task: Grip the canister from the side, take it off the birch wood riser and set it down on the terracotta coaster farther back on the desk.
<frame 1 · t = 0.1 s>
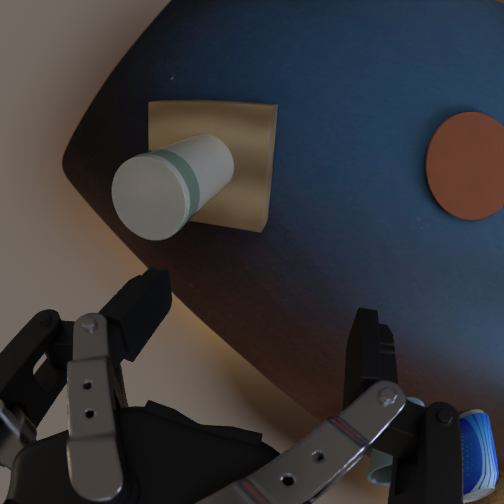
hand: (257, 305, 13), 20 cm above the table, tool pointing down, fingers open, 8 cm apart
canister: (203, 164, 29), point 3 cm above the table, touching riser
embossed ceramic tumbler: (401, 409, 42), on the table
coaster: (473, 166, 24), on the table
riser: (214, 158, 31), on the table
beer can: (466, 419, 40), on the table
bowl: (490, 470, 49), on the table
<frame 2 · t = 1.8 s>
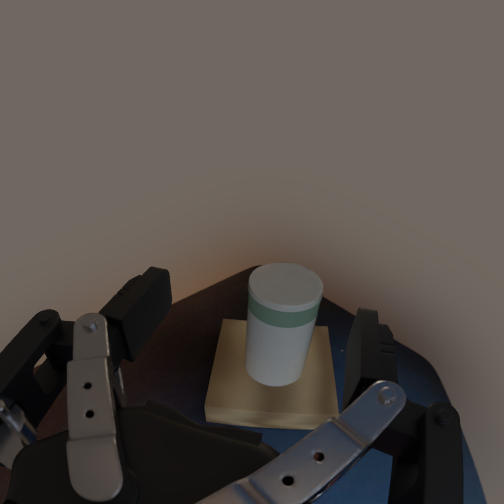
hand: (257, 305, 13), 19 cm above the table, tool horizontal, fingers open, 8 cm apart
canister: (274, 363, 30), point 3 cm above the table, touching riser
riser: (271, 380, 32), on the table
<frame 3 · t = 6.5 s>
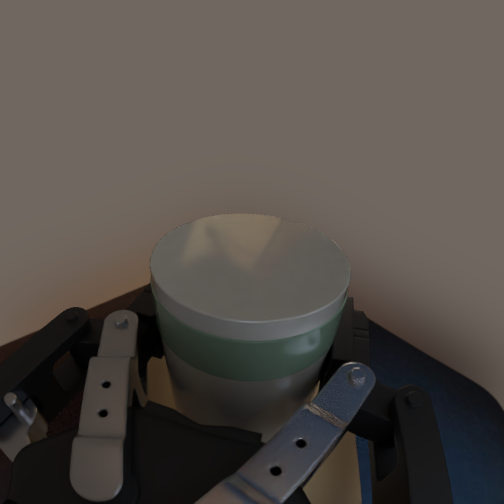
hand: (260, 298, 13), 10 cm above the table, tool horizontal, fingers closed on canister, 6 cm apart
canister: (240, 423, 14), point 3 cm above the table, touching gripper, riser
riser: (239, 446, 16), on the table
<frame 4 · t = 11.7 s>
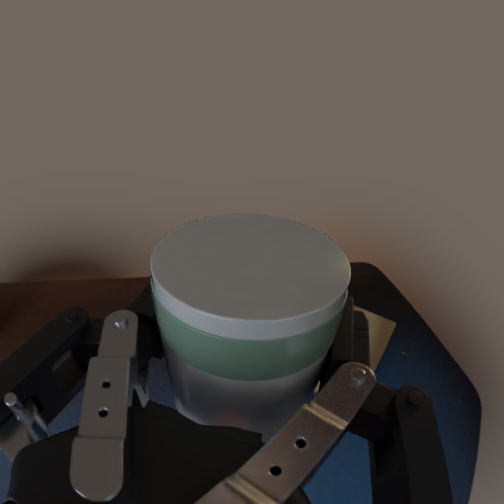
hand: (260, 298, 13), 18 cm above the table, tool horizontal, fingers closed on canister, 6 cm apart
canister: (240, 423, 14), point 11 cm above the table, touching gripper
riser: (326, 351, 34), on the table
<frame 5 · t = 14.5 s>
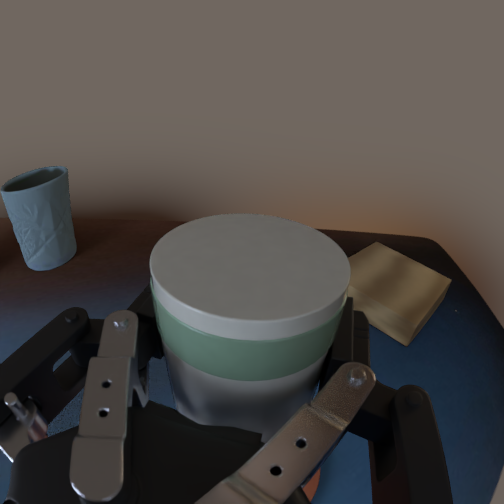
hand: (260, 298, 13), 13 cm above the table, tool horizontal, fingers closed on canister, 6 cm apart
canister: (240, 423, 14), point 7 cm above the table, touching gripper
embossed ceramic tumbler: (50, 256, 40), on the table
riser: (387, 296, 36), on the table
when the fingers open (7 cm above the table, at t = 16.8 s): canister stays where it is, resting on coaster.
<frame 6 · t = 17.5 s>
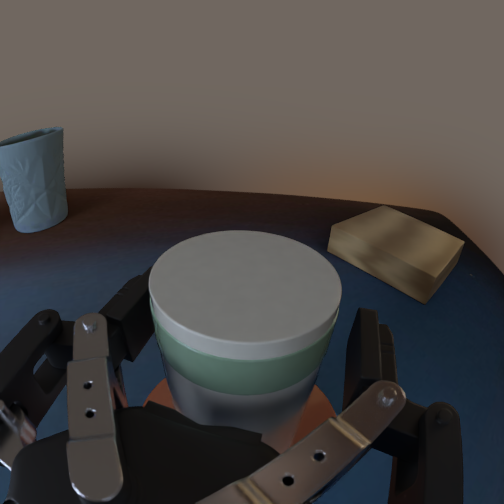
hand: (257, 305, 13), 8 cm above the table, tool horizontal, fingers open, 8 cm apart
canister: (237, 429, 15), resting on coaster
embossed ceramic tumbler: (40, 221, 37), on the table
coaster: (238, 432, 15), on the table
riser: (398, 257, 33), on the table
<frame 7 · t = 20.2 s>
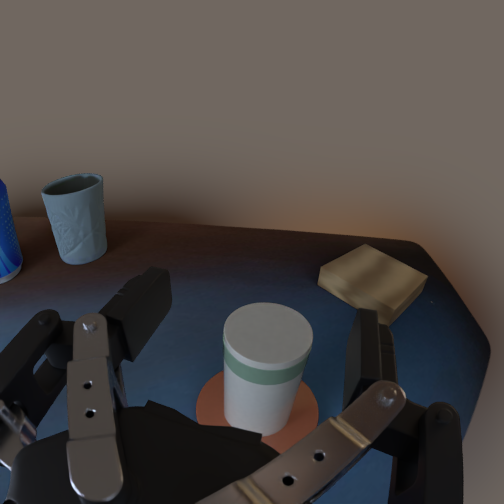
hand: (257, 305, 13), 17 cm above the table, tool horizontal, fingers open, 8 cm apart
canister: (257, 408, 26), resting on coaster
embossed ceramic tumbler: (83, 252, 48), on the table
coaster: (257, 411, 26), on the table
riser: (372, 289, 44), on the table
beer can: (4, 273, 40), on the table
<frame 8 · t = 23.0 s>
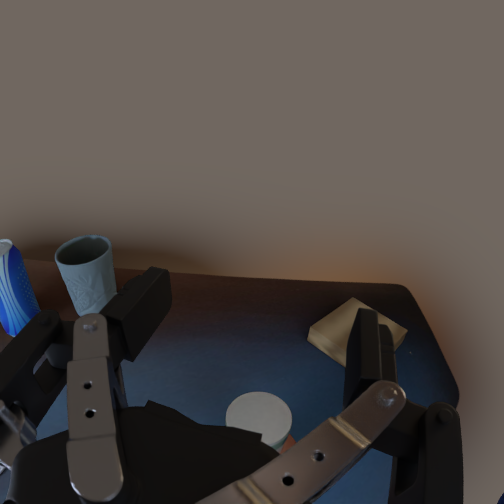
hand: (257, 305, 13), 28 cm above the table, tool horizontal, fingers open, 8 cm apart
canister: (252, 457, 31), resting on coaster
embossed ceramic tumbler: (97, 306, 53), on the table
riser: (356, 342, 49), on the table
beer can: (25, 326, 45), on the table
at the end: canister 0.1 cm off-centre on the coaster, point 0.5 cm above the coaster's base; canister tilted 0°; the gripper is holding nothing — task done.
